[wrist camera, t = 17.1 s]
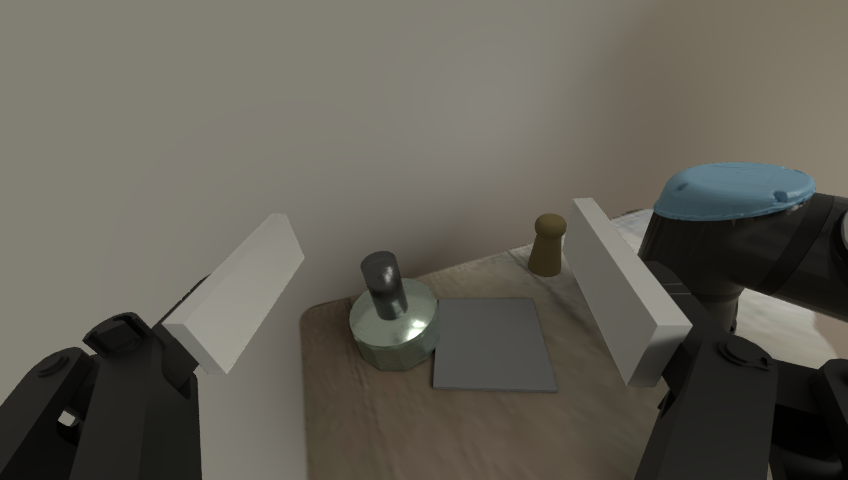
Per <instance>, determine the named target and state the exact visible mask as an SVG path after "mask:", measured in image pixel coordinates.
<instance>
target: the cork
mask: <svg viewBox="0 0 848 480" xmlns="http://www.w3.org/2000/svg"><path fill="white" fill-rule="evenodd" d="M566 227H567V225H566V222H565V220H564V218H563V217H561V216H559V215H556V214H544V215H541V216H540V217H539V218H538V219H537V220H536V222H535V231H536V233H537V235H536V238H535V242H534V245H533V248H532V252H531V255H530V258H529V262H528V268H529V269H530V271H531V272H533V273H534V274H537V275H539V276H544V277H551V276H555V275H557V274H558V273H559V272H560V270H561V237H562V236H563V235H564V233H565V232H566Z"/></svg>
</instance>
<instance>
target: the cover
mask: <svg viewBox="0 0 848 480" xmlns="http://www.w3.org/2000/svg"><path fill="white" fill-rule="evenodd" d="M361 270H362V272H363V275H364V278H365V281H366V284H367V287H368V290H366V291H365V292H364V293H363V294H362V295H361V296H360V297H359V298H358V299H357V300H356V302H355V303H354V305H353V307H352V309H351V312H350V317H349V321H350V327H351V329H352V332H353V335H354V338H355V340H356V343H357V345H358V347H359V349H360V351H361V354H362V356H363V358H364V360H365V361H367V362H369V363H370V364H372V365H373V366H375V367H376V368H378V369H380V370H407V369H409V368H411V367H413V366H414V365H416V364H418V363H420V362H422V361H424V360H426V359H427V358H428V357H429V356H430V354H431V353H432V351H433V350H434V349H435V347H436V346H437V344H438V343H439V342H440V331H441V320H440V315H439V309H438V304H437V301H436V299H435V297H434V294H433V293H432V291H431V290H430V289H429V287H427V286H426V285H425V284H423V283H421V282H419V281H417V280H413V279H407V278H401V277H400V273H399V269H398V265H397V261H396V257H395V255H394V254H393V253H391V252H387V251H380V252H375V253H373V254H370V255H369V256H367V257H366V258H365V259H364V260H363V261H362V263H361Z"/></svg>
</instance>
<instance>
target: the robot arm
mask: <svg viewBox="0 0 848 480" xmlns="http://www.w3.org/2000/svg"><path fill="white" fill-rule="evenodd" d="M815 190H816V188H815V182H814V180H813V178H811V176H809V175H807V174H806V173H803V172H801V171H798V170H790V169H786V168H785V167H783V166H777V165H770V164H762V163H748V162H726V163H712V164H705V165H699V166H694V167H690V168H687V169H684V170H682V171H680V172H678V173H676V174H675V175H673V176H672V177H671V178H670V179H669V180H668V181H667V182H666V184H665V186H664V188H663V190H662V193H661V195H660V197H659V199H658V200H657V201H656V203H655V204H654V212H653V214H652V217H651V220H650V222H649V225H648V228H647V230H646V233H645V236H644V239H643V241H642V244H641V246H640V249H639V252H638V254H636V253H635V252H634V250H633V249H632V248H631V247H630V245H629V244H628V243H627V242H626V240H625V239H624V238H623V236H622V235H621V234H620V233H619V231H618V230H617V229H616V228H615V226H614V225H613V224H612V223H611V221H610V220H609V219H608V218H607V216H606V215H605V214H604V212H603V211H602V210H601V209H600V207H599V206H598V205H597V204H596V202H595V201H594V200H593V199H592V198H578V199H573V200H572V205H571V210H570V215H569V220H568V225H567V230H566V235H565V240H564V245H563V250H562V251H563V253H564V255H565V257H566V259H567V261H568V263H569V265H570V268H571V270H572V272H573V274H574V276H575V278H576V280H577V282H578V285H579V287H580V289H581V291H582V293H583V295H584V297H585V299H586V302H587V304H588V306H589V308H590V310H591V312H592V314H593V316H594V319H595V321H596V323H597V325H598V327H599V329H600V331H601V333H602V335H603V338H604V340H605V342H606V344H607V346H608V348H609V350H610V352H611V355H612V357H613V359H614V361H615V363H616V365H617V367H618V369H619V372H620V374H621V376H622V378H623V380H624V382H625V384H626V386H634V387H655V386H656V384H657V383H658V381H659V380H660V378H661V376H663V378H664V380H665V381H666V383H667V385H668V386H669V388H670V389H669V391H668V392H667V394H666V395H665V397H664V398H663V400H662V401H661V403H660V404H659V406H658V407H657V408H658V409H660V412H659V415H658V417H657V420H656V423H655V425H654V428H653V431H652V433H651V436H650V439H649V441H648V444H647V447H646V449H645V452H644V454H643V457H642V460H641V462H640V465H639V468H638V470H637V473H636V476H635V478H634V480H767V472H768V463H769V465H770V469H771V473H772V477H773V480H848V360H847V359H830V360H828V361H827V362H826V363H825V364H824V365H823V366H821V367H820V368H819V369H813V368H809V367H805V366H801V365H797V364H792V363H788V362H784V361H780V360H776V359H772V357H771V356H770V355H769V354H768V353H767V352H766V351H764V350H763V349H762V348H760V347H759V346H758V345H756V344H754V343H752V342H750V341H749V340H747V339H745V338H743V337H739V336H736V335H734V334H735V332H736V325H737V323H736V317H737V311H738V298H739V296H740V294H741V293H742V291H743V290H744V288H748V289H750V290H754V291H756V292H759V293H762V294H765V295H768V296H771V297H774V298H777V299H780V300H783V301H786V302H789V303H791V304H794V305H797V306H800V307H803V308H806V309H809V310H811V311H814V312H817V313H820V314H823V315H826V316H829V317H832V318H834V319H838V320H840V321H843V322H846V323H848V198H844V197H839V196H832V195H826V194H820V193H815ZM303 259H304V255H303V253H302V251H301V248H300V246H299V243H298V241H297V239H296V237H295V234H294V232H293V229H292V227H291V225H290V223H289V220H288V218H287V215H286V214H285V213H282V214H271V215H270V216H269V217H268V218H267V219H266V220H265V221H264V222H263V223H262V224H261V225H260V226H259V227H258V228H257V229H256V230H255V231H254V232H253V233H252V234H251V235H250V236H249V237H248V238H247V239H246V240H245V241H244V242H243V243H242V244H241V245H240V246H239V247H238V248H237V249H236V250H235V251H234V252H233V253H232V254H231V255H230V256H229V257H228V258H227V259H226V260H225V261H224V262H223V263H222V264H221V265H220V266H219V267H218V268H217V269H216V270H215V271H214V272H213V273H211V274H209V275H208V276H207V277H205V278H203V279H202V280H200V281H199V282H198V283H197V284H196V285H195V286H194V287H193V288H192V289H191V290H190V292H188V293H187V294H186V295H185V296H184V297H183V298H182V300H180V301H179V302H178V303H177V304H176V305H175V306H174V307H173V308H172V309H171V310H170V311H169V312H168V313H167V314H166V315H165V316H164V317H163V318H162V319H161V320H160V321H159V322H158V323H157V324H156V325H154V326H153V327H152V329H150V328H149V326H147V325H146V323H145V322H144V321H143V320H142V319H141V318H140V317H139V316H138V315H137V314H135V313H133V312H129V313H128V312H127V313H122V314H119V315H116V316H113V317H111V318H109V319H107V320H105V321H103V322H101V323H100V324H99V325H97V326H95V327H94V328H93V329H92V330H91V331H90V332H88V333H87V334H86V336H85V337H84V339H83V340H82V341H83V342H84V343H85V344H86V345H88V346H89V347H90V348H91V349H93V350H94V351H95V352H96V353H97V354H95V355H91V356H89V355H88V354H87V353H86V352H84V351H83V350H82V349H81V348H78V347H72V348H67V349H64V350H61V351H59V352H56V353H53V354H51V355H50V356H48V357H46V358H44V359H43V360H42V361H41V362H40V363H38V364H37V365H35V366H34V367H33V368H32V369H31V370H30V371H29V372H28V373H27V374H26V375H25V377H24V378H23V379H22V380H21V381H20V383H19V384H18V385H17V386H16V388H15V389H14V390H13V391H12V393H11V394H10V395H9V396H8V398H7V399H6V400H5V401H4V403H3V404H2V405H1V406H0V480H202V470H201V448H200V426H199V404H198V382H197V377H196V375H195V374H194V373H193V371H194V370H195V369H196V367H197V366H198V365H200V366H201V367H202V368H203V369H204V370H205V371H206V372H207V374H224V375H227V374H228V372H229V371H230V369H231V368H232V366H233V365H234V363H235V362H236V360H237V359H238V357H239V356H240V354H241V353H242V351H243V350H244V348H245V347H246V345H247V344H248V342H249V341H250V339H251V338H252V336H253V335H254V333H255V332H256V330H257V329H258V327H259V326H260V324H261V323H262V321H263V320H264V318H265V316H266V315H267V314H268V312H269V311H270V309H271V308H272V306H273V305H274V303H275V302H276V300H277V299H278V297H279V296H280V294H281V293H282V291H283V290H284V288H285V287H286V285H287V284H288V282H289V281H290V279H291V278H292V276H293V275H294V273H295V272H296V270H297V269H298V267H299V266H300V264H301V263H302V261H303ZM63 411H66V412H67V413H69V414H71V415H72V416H74V417H75V420H74V422H73V423H72V424H71V425H70V426H66V425H64V424H62V423H61V422H59V421H58V419H59V417H60V416H61V414H62V412H63Z"/></svg>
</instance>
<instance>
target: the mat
mask: <svg viewBox="0 0 848 480" xmlns="http://www.w3.org/2000/svg"><path fill="white" fill-rule="evenodd" d="M438 309H439V315H440V320H441V331H440V342H439V343H438V344H437V346H436V351H435V365H434V380H433V389H450V390H481V391H511V392H541V393H557V392H558V389H557V385H556V382H555V378H554V374H553V371H552V367H551V364H550V360H549V356H548V353H547V349H546V345H545V342H544V338H543V335H542V331H541V327H540V324H539V320H538V317H537V313H536V309H535V306H534V302H533V299H532V298H496V299H439V306H438Z"/></svg>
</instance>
